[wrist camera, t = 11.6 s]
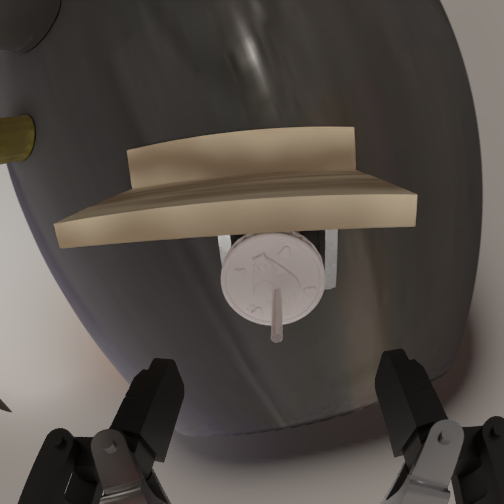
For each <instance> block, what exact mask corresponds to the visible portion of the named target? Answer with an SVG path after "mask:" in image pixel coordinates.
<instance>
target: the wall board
mask: <svg viewBox="0 0 504 504" xmlns="http://www.w3.org/2000/svg"><path fill="white" fill-rule="evenodd" d="M127 155H128V163H129V170H130V177H131V183H132V189H131V190H128V191H126V192H123V193H121V194H118V195H116V196H114V197H111V198H109V199H106V200H104V201H102V202H99V203H97V204H95V205H93V206H90V207H88V208H86V209H84V210H82V211H79V212H77V213H75V214H73V215H71V216H69V217H67V218H65V219H63V220H61V221H59V222H57V223H55V224H54V227H55V231H56V235H57V239H58V243H59V246H60V248H71V247H81V246H92V245H104V244H115V243H127V242H140V241H152V240H165V239H179V238H193V237H207V236H223V235H238V234H255V233H273V232H291V231H311V230H332V229H356V228H382V227H414V226H415V222H416V209H417V194H415V193H412V192H410V191H408V190H406V189H403V188H401V187H398V186H396V185H394V184H391V183H389V182H386V181H384V180H381V179H379V178H376V177H374V176H371V175H368V174H366V173H363V172H360V171H358V170H356V155H355V136H354V127H291V128H273V129H259V130H247V131H237V132H228V133H220V134H212V135H205V136H198V137H192V138H186V139H180V140H174V141H169V142H164V143H159V144H154V145H149V146H144V147H140V148H135V149H131V150H127Z"/></svg>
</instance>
